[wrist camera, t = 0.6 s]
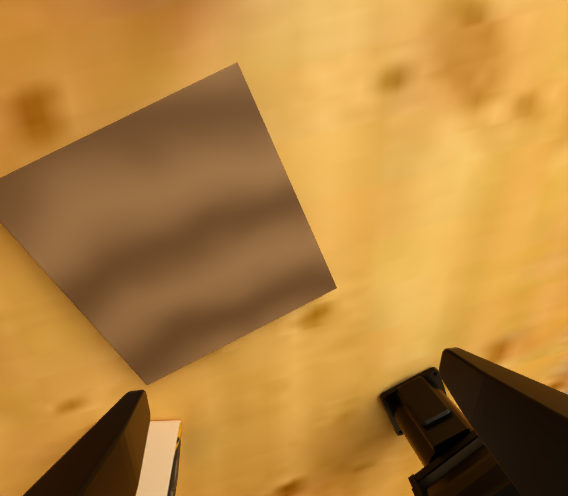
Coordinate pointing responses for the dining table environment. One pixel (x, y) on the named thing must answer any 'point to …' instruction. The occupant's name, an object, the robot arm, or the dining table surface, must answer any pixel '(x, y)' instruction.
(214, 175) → the walnut plinth
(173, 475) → the medicine bottle
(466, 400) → the robot arm
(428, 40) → the dining table surface
